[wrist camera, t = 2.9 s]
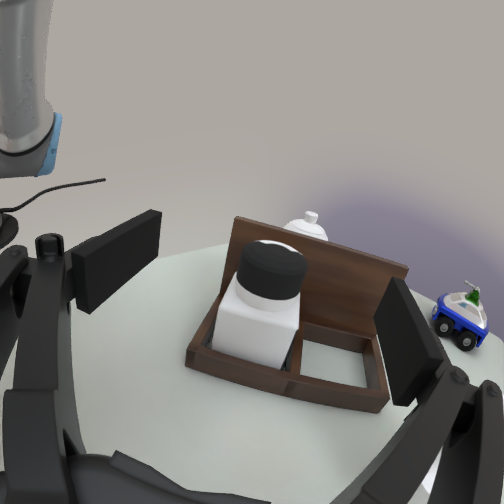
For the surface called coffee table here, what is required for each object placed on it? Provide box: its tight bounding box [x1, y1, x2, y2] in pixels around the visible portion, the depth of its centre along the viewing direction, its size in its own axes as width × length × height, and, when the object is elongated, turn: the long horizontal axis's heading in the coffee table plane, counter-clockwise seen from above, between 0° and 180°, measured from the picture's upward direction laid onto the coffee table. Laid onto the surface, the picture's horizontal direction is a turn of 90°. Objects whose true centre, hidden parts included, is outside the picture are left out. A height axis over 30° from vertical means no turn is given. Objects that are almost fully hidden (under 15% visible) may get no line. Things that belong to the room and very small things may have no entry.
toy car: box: [432, 280, 489, 351], centre depth 39 cm, size 9×12×10 cm
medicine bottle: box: [211, 240, 308, 370], centre depth 28 cm, size 7×7×12 cm
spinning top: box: [283, 211, 328, 241], centre depth 43 cm, size 8×8×12 cm
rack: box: [185, 216, 409, 413], centre depth 28 cm, size 12×20×12 cm, turn 79°
